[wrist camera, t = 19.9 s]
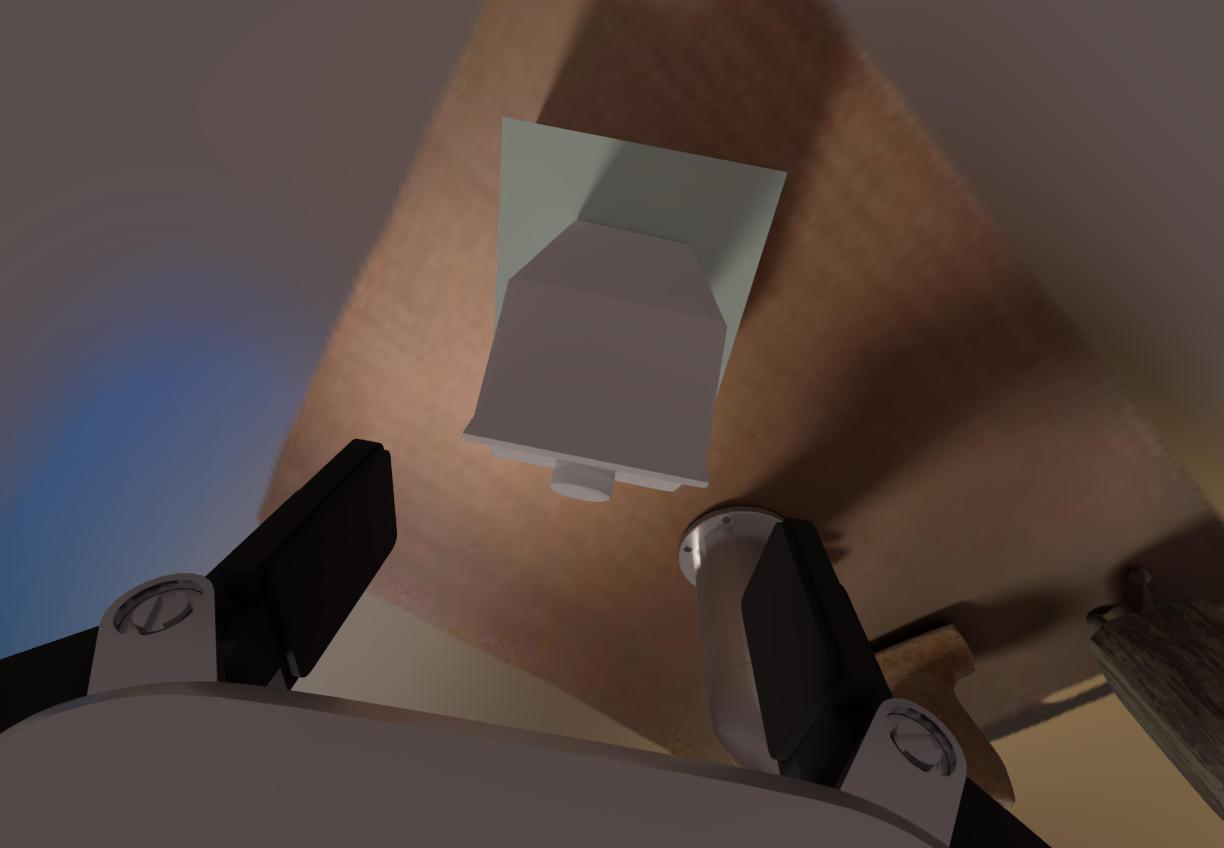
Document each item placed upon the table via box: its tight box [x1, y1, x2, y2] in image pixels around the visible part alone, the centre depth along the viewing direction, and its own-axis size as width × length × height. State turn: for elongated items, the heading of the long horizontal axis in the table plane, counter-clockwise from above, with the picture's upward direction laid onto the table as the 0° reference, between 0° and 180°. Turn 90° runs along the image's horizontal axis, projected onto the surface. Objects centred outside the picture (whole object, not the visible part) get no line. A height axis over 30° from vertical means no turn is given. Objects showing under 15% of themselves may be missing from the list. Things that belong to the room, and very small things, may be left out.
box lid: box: [494, 117, 787, 397], centre depth 30 cm, size 16×16×1 cm
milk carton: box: [463, 220, 727, 502], centre depth 21 cm, size 7×7×19 cm
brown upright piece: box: [874, 624, 1015, 810], centre depth 51 cm, size 15×12×15 cm
